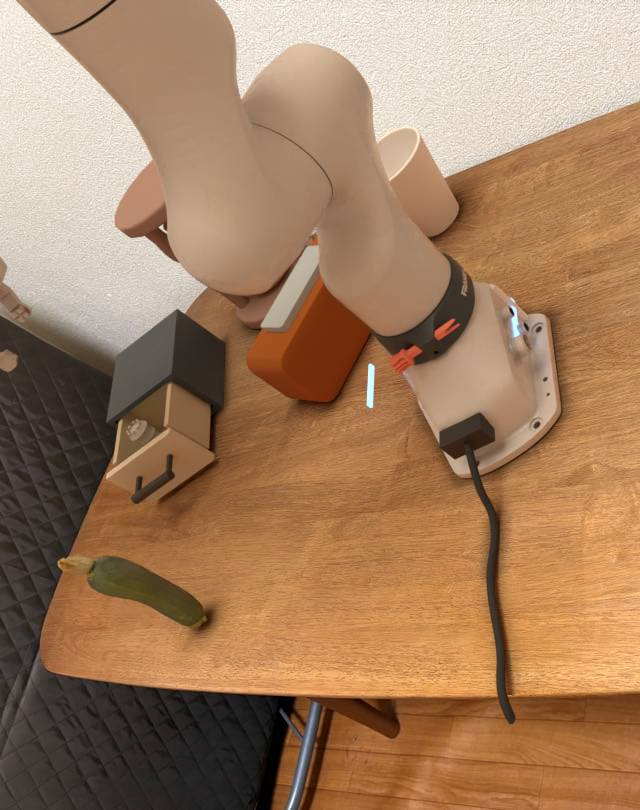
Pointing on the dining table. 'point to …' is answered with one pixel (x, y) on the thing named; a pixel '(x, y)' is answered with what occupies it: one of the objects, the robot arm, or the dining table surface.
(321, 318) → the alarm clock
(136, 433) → the rook chess piece
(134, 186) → the hourglass
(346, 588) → the dining table surface
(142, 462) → the drawer
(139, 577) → the vegetable
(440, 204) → the cup
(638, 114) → the dining table surface
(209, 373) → the cabinet
